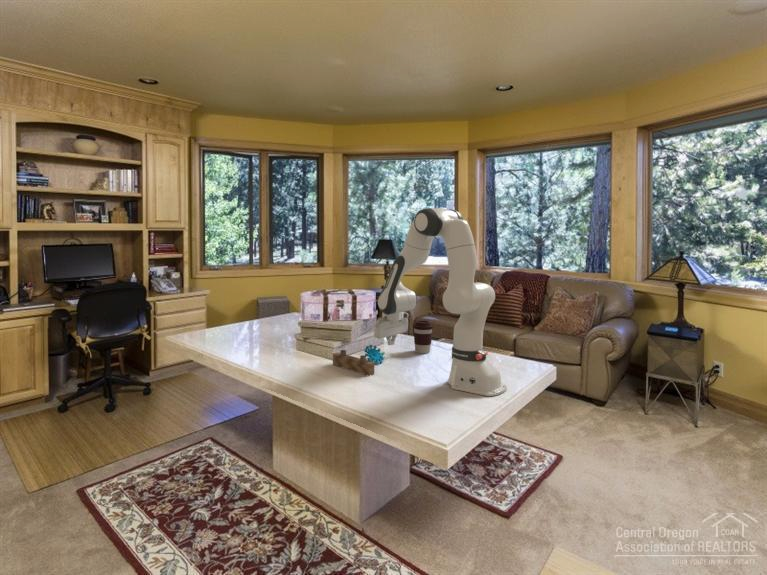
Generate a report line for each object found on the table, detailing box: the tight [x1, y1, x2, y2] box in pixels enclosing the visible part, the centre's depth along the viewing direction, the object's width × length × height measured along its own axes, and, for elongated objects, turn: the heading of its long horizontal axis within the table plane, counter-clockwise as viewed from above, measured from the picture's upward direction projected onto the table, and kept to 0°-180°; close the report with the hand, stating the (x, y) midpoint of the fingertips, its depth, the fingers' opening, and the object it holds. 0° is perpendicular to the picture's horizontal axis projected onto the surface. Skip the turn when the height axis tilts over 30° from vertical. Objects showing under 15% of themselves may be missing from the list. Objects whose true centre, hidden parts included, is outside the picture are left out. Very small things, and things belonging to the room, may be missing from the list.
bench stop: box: [332, 349, 375, 377], centre depth 189 cm, size 22×3×7 cm, turn 48°
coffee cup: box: [412, 320, 434, 355], centre depth 218 cm, size 10×10×15 cm
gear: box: [364, 344, 386, 365], centre depth 200 cm, size 11×6×10 cm
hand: (391, 344), depth 207 cm, fingers closed
